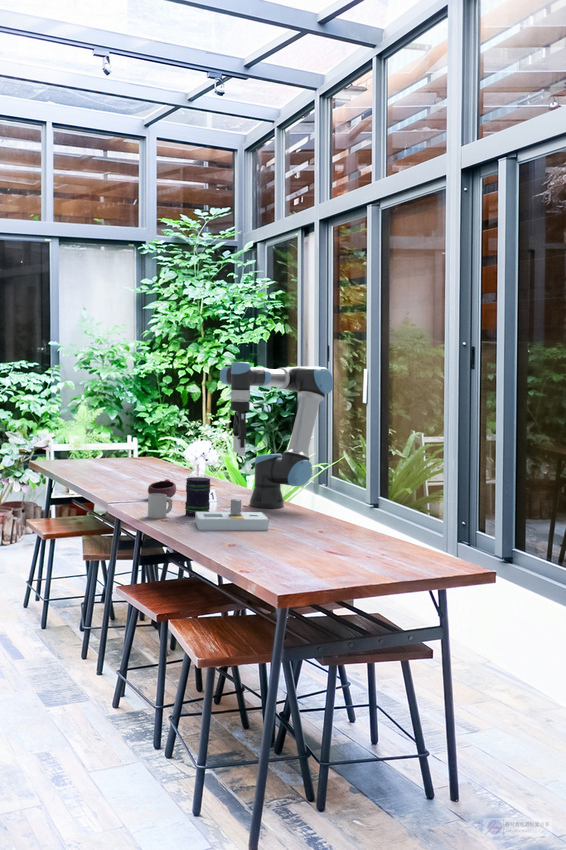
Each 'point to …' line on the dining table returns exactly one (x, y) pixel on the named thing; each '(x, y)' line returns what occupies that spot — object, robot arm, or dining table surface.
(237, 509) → the grey rounded cylinder
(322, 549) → the dining table surface
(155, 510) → the cup
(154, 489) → the bowl
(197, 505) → the storage jar
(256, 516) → the block
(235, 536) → the dining table surface
